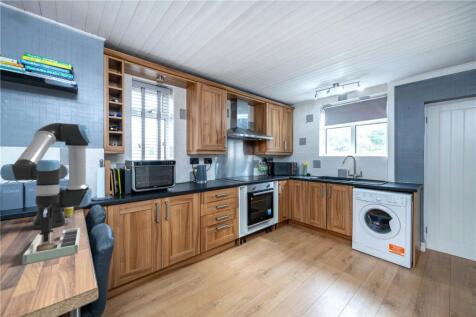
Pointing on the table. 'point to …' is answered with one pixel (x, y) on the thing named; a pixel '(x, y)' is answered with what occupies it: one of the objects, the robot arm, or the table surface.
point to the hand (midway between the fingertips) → (45, 248)
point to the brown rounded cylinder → (45, 247)
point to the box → (66, 247)
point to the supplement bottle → (68, 212)
